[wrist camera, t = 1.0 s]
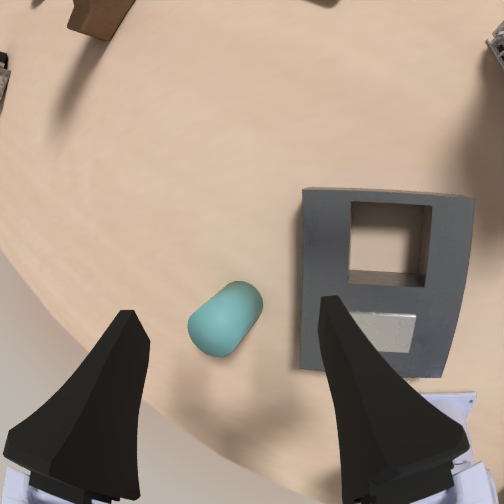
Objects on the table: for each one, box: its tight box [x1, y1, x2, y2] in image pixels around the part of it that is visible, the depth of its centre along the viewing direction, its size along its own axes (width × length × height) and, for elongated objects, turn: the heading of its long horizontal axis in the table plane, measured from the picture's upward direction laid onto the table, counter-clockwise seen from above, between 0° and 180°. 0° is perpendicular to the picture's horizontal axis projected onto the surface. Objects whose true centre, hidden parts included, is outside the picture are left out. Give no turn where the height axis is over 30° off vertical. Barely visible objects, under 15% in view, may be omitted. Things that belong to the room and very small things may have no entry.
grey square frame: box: [299, 187, 475, 378], centre depth 21 cm, size 14×12×3 cm
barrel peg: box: [188, 281, 263, 357], centre depth 24 cm, size 4×4×6 cm
